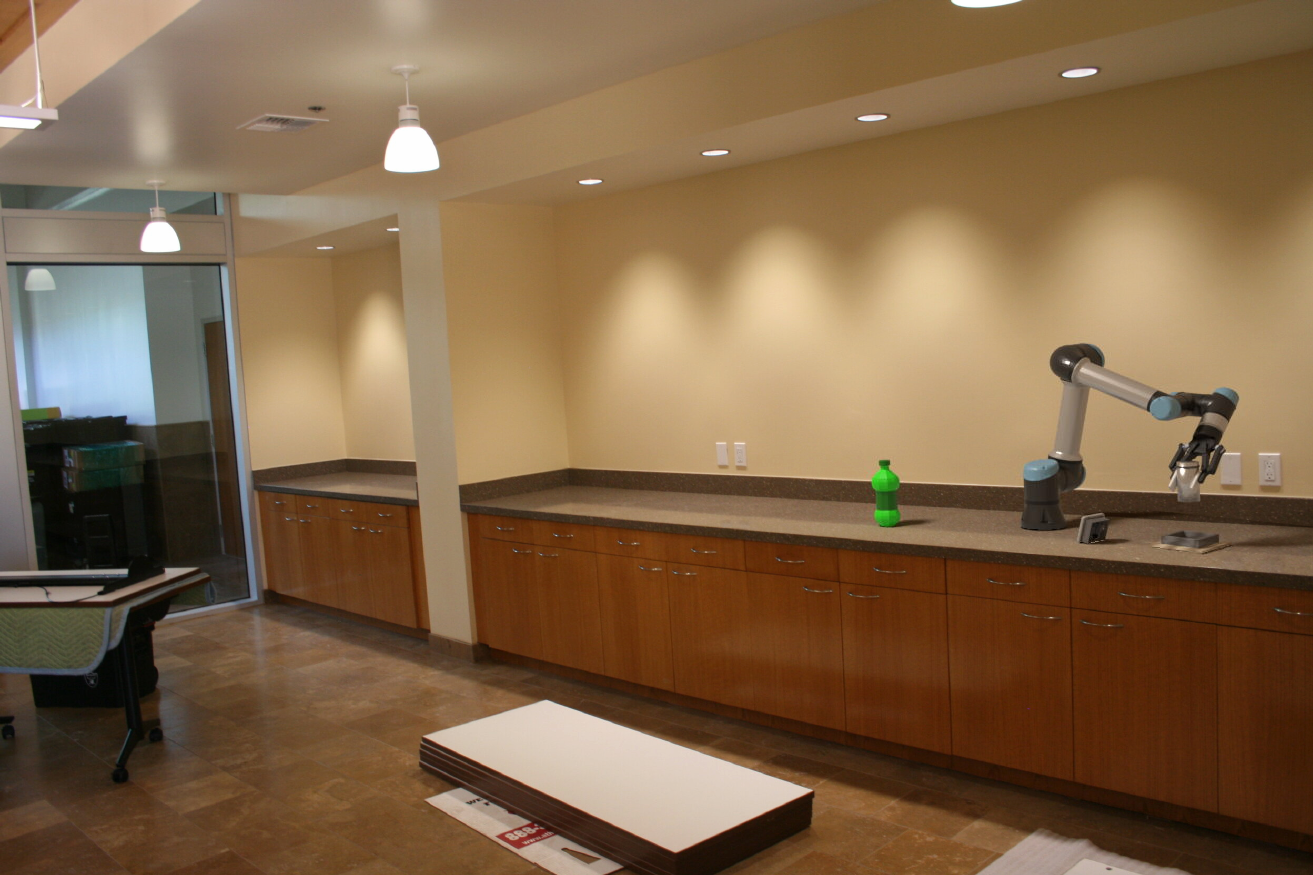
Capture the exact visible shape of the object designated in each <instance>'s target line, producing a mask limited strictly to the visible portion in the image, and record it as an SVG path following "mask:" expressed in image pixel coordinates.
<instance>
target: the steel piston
mask: <svg viewBox="0 0 1313 875" xmlns="http://www.w3.org/2000/svg"><path fill="white" fill-rule="evenodd" d="M1176 463H1177V465H1176V467H1177V487H1176V489H1177V501H1178V502H1180V503H1199V502H1201V486H1199V488H1198V490H1197V492H1196V494H1194V493H1193V492H1192V491H1191V489H1190V486H1191V484H1192V482H1193V480H1194V478H1195V476H1196V474H1197V472H1198V471H1200V468H1201V465H1200V461H1199V460H1198V461H1197V460H1192V461H1178V462H1176Z"/></svg>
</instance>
